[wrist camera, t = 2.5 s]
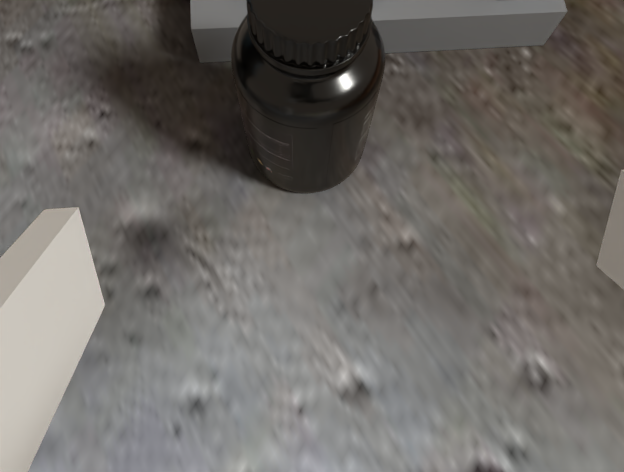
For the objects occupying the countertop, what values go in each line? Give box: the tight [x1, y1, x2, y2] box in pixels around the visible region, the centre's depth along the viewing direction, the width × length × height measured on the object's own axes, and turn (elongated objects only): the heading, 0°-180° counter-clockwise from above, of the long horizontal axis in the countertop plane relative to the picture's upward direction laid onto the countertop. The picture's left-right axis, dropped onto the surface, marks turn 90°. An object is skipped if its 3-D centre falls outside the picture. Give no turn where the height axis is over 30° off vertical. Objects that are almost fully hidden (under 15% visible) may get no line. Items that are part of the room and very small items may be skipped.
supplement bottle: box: [231, 0, 385, 193], centre depth 24 cm, size 7×7×12 cm
